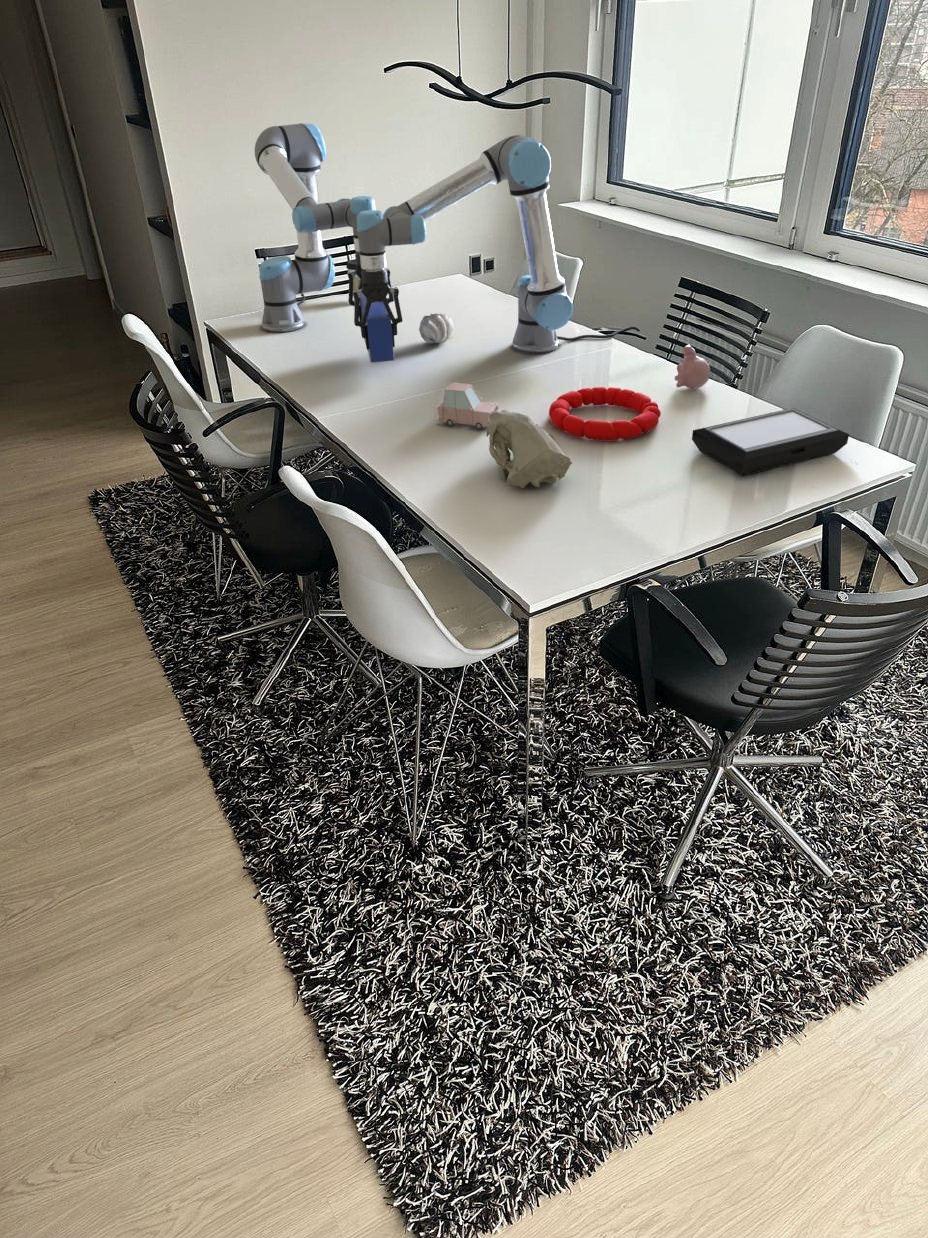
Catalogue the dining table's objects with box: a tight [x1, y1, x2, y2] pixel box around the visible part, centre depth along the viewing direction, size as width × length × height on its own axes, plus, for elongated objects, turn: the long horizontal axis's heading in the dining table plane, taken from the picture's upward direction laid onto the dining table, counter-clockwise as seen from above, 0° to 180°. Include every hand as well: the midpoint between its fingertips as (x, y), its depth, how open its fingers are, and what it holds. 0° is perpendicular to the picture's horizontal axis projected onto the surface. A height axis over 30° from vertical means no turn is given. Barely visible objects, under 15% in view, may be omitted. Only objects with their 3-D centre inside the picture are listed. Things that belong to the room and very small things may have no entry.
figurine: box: [674, 344, 711, 390], centre depth 259 cm, size 9×11×12 cm
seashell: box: [418, 312, 454, 344], centre depth 302 cm, size 10×15×10 cm
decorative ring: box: [548, 386, 661, 442], centre depth 242 cm, size 7×30×30 cm
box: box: [359, 294, 395, 363], centre depth 281 cm, size 30×7×13 cm, turn 10°
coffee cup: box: [346, 258, 363, 305], centre depth 347 cm, size 10×10×15 cm
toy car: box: [437, 382, 499, 431], centre depth 243 cm, size 9×15×10 cm, turn 70°
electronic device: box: [691, 407, 850, 477], centre depth 222 cm, size 32×6×20 cm
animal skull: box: [485, 409, 573, 489], centre depth 216 cm, size 17×25×20 cm
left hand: (373, 324), depth 292 cm, fingers closed on box, 7 cm apart
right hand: (380, 346), depth 273 cm, fingers closed on box, 7 cm apart
